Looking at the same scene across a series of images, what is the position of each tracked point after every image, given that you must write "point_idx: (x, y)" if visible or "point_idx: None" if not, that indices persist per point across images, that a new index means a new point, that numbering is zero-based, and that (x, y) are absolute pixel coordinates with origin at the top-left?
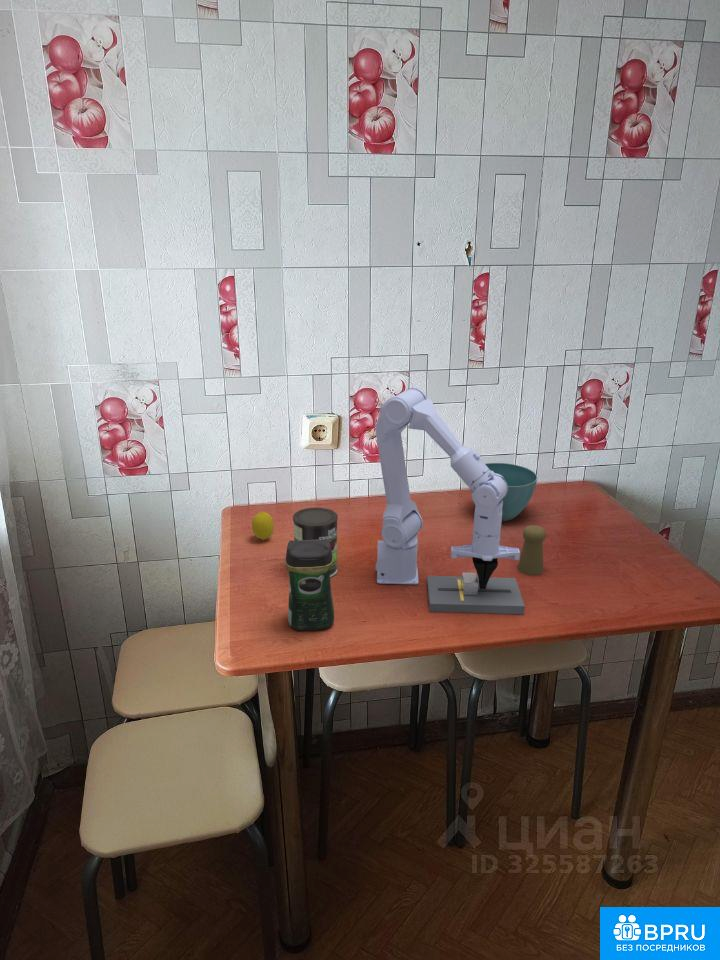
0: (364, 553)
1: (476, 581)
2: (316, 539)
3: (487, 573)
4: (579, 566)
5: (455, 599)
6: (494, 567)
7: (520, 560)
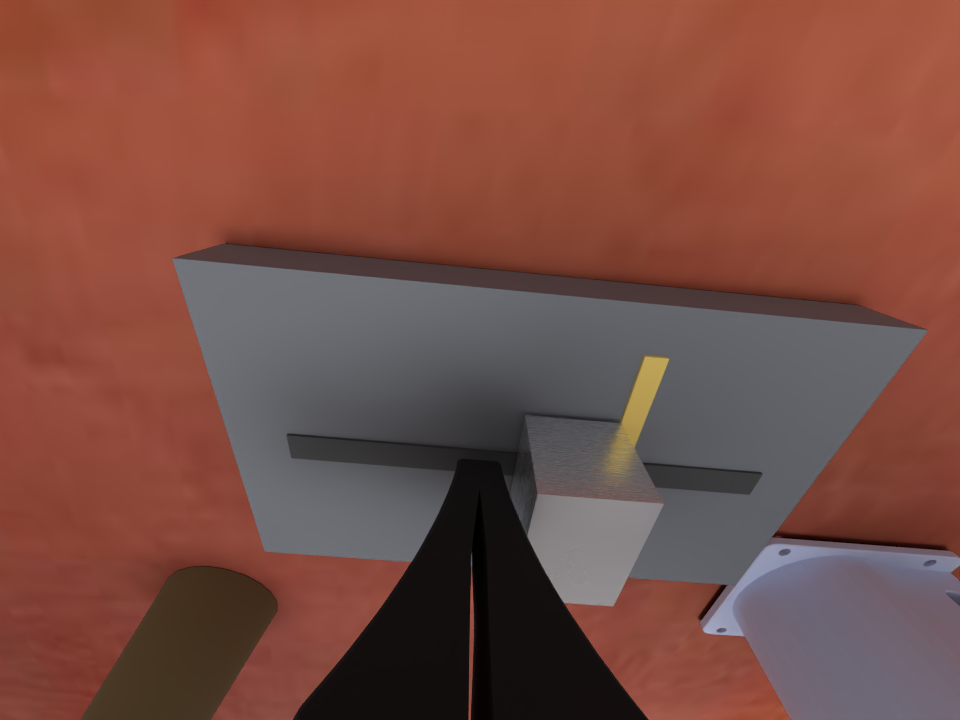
0: None
1: (546, 511)
2: None
3: (448, 594)
4: (22, 603)
5: (699, 374)
6: (336, 712)
7: (242, 650)
